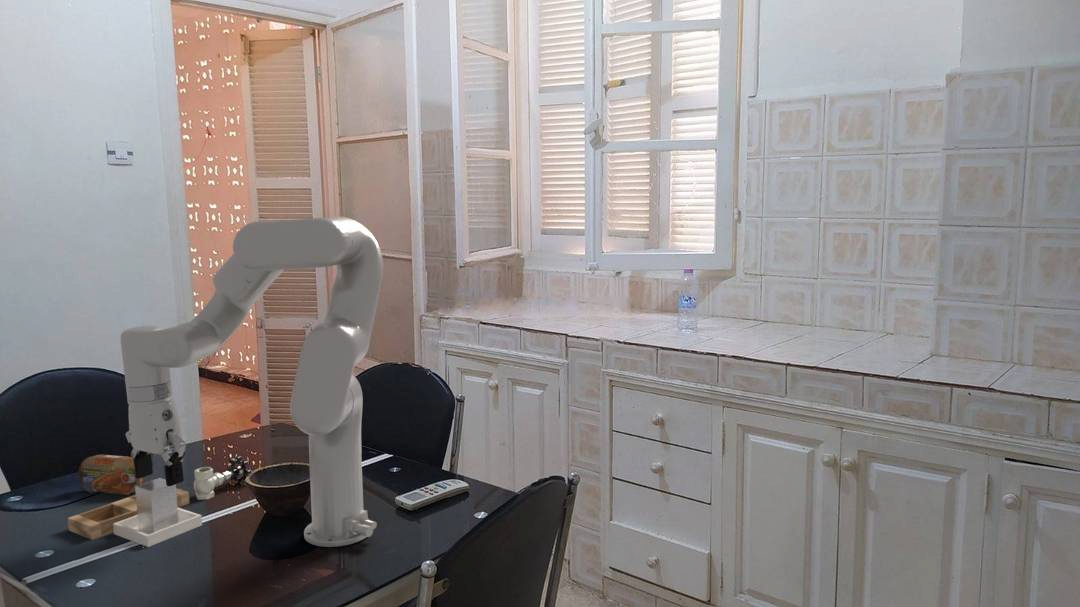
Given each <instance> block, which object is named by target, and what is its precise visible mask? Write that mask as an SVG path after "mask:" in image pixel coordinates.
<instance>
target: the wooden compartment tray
mask: <svg viewBox="0 0 1080 607" xmlns="http://www.w3.org/2000/svg"><path fill="white" fill-rule="evenodd" d="M189 494H190V492H189V491H187V490H184V489H182V488H177V487H176V495H177V507H178V508H181V507H183V506H186V505H189V504H190V495H189ZM135 515H137V504H136V494H134V495H131V496H128V497H124V498H122V499H119V500H116V501H114V502H111V503H107V504H104V505H101V506H99V507H95V508H93V509H90V510H86V511H84V512H81V513H78V514H75V515H73V516H70V517H67V525H68V526H67V527H68V531H69V532H70V533H71V532H72V533H74V534H76V535H78V536H81V537H84V538H87V539H89V540H95V539H98V538H100V537H104V536H106V535H109V534H111V533H114V530H113V523H116V522H119V521H122V520H124V519H127V518H130V517H133V516H135Z"/></svg>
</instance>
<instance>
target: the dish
mask: <svg viewBox="0 0 1080 607" xmlns="http://www.w3.org/2000/svg"><path fill="white" fill-rule="evenodd" d="M177 509H178V523H177V524H174V525H172V526H169V527H166V528H164V529H161V530H159V531H156V532H154V533H151V534H146V533H143V532H140V531H139V530H138V517H137V515H135V516H133V517H130V518H127V519H124V520H122V521H119V522H116V523H113V530H114V532H113V535H115V536H118V537H120V538H123V539H126V540H128V541H131V542H134V543H136V544H138V545H139V544H140V545H141V546H144V547H146V548H150V547H152V546H154V545H157V544H159V543H162V542H164V541H167V540H169V539H172V538H174V537H177V536H180V535H182V534H184V533H186V532H188V531H192V530H194V529H196V528H199V527H201V526H203V516H202V514H199V513H195V512H193V511H190V510H187V509H185V508H184V509H183V508H181V507H179V508H178V507H177Z"/></svg>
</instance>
